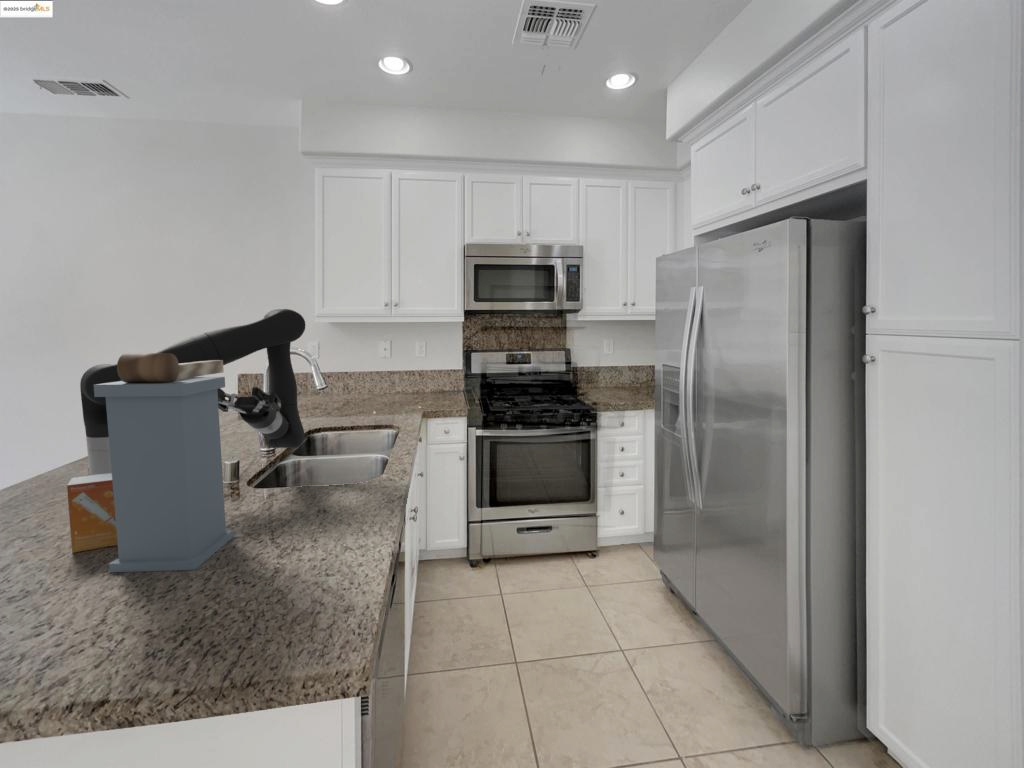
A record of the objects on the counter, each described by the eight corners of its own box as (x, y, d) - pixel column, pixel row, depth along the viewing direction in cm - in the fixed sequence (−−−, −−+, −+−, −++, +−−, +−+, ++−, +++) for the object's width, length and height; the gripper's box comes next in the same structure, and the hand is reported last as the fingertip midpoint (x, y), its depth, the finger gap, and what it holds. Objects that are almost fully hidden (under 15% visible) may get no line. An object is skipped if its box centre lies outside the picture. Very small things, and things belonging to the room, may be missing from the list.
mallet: (162, 383, 84) (160, 353, 84) (118, 384, 84) (115, 353, 83) (234, 372, 109) (232, 348, 108) (200, 372, 108) (198, 349, 108)
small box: (71, 554, 93) (65, 485, 92) (77, 542, 99) (71, 476, 97) (126, 544, 98) (121, 478, 96) (129, 533, 103) (124, 470, 102)
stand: (109, 572, 86) (93, 384, 83) (160, 539, 100) (148, 377, 97) (195, 569, 87) (182, 384, 84) (234, 537, 101) (224, 376, 98)
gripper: (236, 402, 132) (205, 375, 117) (292, 401, 133) (269, 375, 118) (230, 429, 129) (198, 405, 114) (288, 428, 130) (263, 405, 115)
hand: (234, 390), depth 116 cm, fingers open, 8 cm apart
